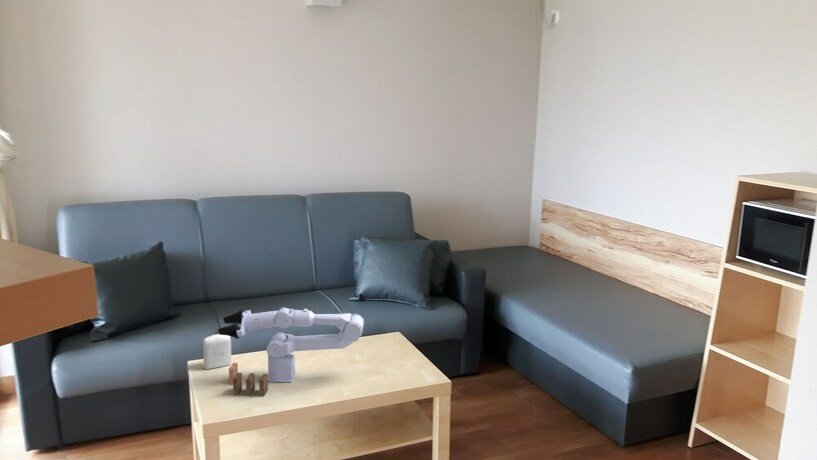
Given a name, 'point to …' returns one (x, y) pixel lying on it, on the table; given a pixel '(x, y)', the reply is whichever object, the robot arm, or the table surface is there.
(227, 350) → the white box with text
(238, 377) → the walnut domino
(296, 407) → the table surface
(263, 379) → the walnut domino
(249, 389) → the walnut domino
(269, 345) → the robot arm
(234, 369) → the terracotta domino
